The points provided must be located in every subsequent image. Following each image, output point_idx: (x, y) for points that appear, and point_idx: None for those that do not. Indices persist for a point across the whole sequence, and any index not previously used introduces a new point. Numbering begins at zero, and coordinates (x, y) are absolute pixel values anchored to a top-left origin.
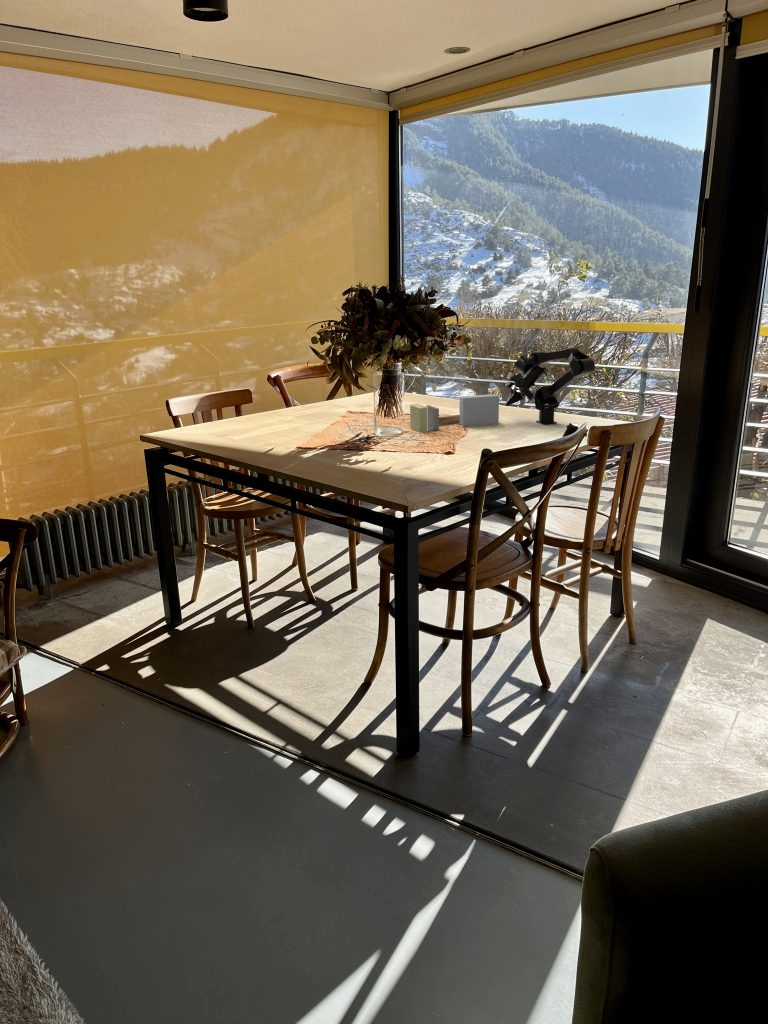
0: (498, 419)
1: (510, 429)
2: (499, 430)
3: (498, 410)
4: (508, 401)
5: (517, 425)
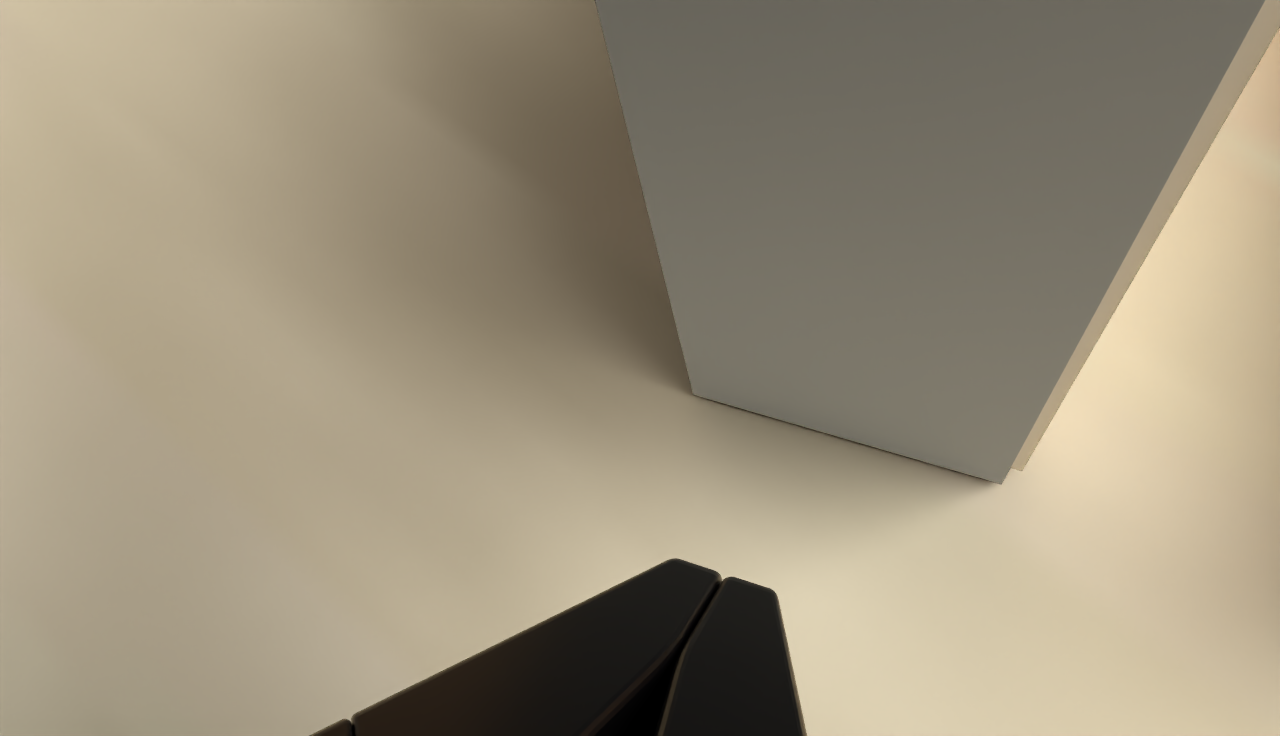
0: (682, 342)
1: (24, 242)
2: (147, 4)
3: (652, 193)
4: (523, 648)
5: (188, 696)
